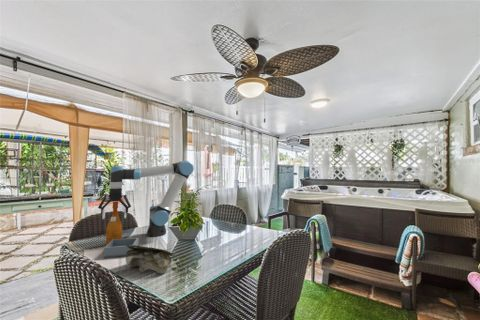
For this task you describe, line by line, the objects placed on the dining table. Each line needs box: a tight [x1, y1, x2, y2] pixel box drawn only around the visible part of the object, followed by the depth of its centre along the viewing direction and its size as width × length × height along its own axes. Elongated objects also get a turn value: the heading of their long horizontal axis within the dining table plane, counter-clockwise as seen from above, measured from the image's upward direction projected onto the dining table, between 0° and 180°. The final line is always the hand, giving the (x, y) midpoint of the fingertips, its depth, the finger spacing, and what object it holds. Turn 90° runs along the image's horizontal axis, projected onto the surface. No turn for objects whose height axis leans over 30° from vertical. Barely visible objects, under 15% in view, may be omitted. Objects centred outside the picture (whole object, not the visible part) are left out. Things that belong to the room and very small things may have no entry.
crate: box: [103, 237, 139, 259], centre depth 136 cm, size 16×16×6 cm
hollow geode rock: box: [125, 245, 176, 275], centre depth 113 cm, size 28×13×15 cm
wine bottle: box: [105, 201, 123, 247], centre depth 150 cm, size 10×10×30 cm
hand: (114, 218), depth 150 cm, fingers open, 13 cm apart
